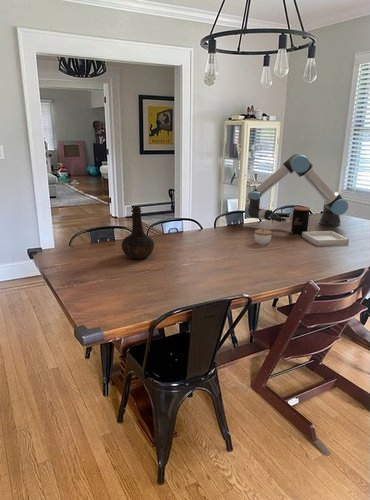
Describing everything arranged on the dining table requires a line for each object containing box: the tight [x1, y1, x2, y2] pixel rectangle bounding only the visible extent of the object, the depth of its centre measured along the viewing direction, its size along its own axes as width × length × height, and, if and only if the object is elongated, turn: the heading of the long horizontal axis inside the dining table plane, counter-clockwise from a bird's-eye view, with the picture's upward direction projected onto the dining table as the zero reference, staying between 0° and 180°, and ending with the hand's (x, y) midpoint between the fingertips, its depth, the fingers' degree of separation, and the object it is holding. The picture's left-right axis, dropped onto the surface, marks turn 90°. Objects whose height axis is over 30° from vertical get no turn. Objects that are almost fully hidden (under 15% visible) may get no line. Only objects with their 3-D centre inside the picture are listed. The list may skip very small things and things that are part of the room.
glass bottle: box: [121, 206, 155, 260], centre depth 203 cm, size 18×18×28 cm
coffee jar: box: [290, 205, 311, 236], centre depth 256 cm, size 11×11×18 cm
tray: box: [301, 230, 350, 247], centre depth 241 cm, size 21×21×4 cm
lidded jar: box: [254, 228, 273, 246], centre depth 233 cm, size 11×11×9 cm
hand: (294, 218), depth 258 cm, fingers open, 13 cm apart
